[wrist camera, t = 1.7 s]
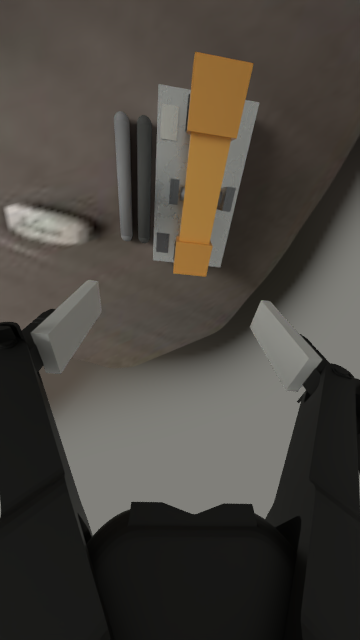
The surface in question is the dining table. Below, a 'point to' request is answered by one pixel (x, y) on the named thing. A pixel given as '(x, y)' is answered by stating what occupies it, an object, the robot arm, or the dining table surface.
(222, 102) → the lever
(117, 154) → the grey rod
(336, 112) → the dining table surface
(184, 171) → the grey bracketed base
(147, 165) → the cord
